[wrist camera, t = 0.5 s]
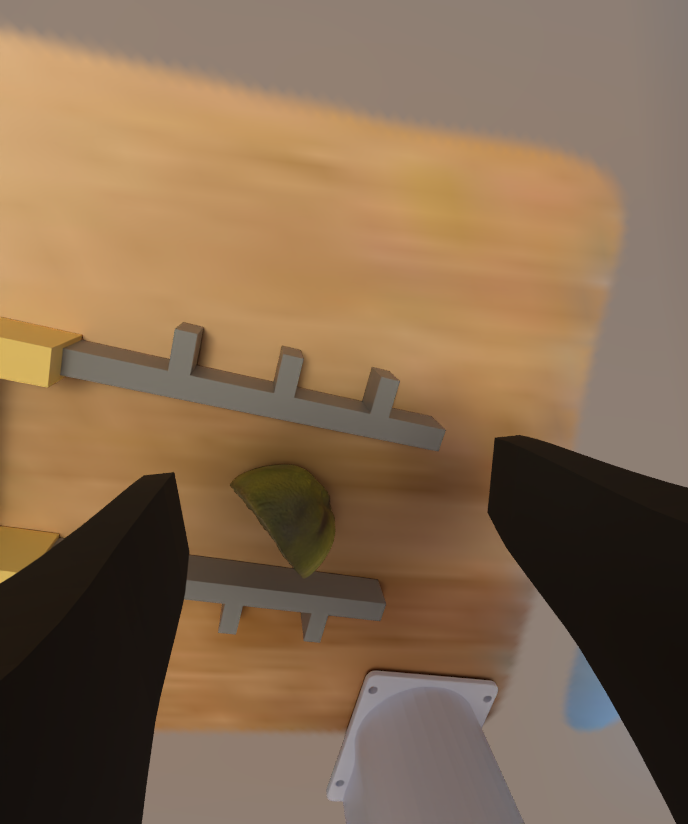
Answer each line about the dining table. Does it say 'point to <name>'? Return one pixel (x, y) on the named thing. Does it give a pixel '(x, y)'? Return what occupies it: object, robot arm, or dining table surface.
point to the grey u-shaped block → (183, 379)
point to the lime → (290, 512)
